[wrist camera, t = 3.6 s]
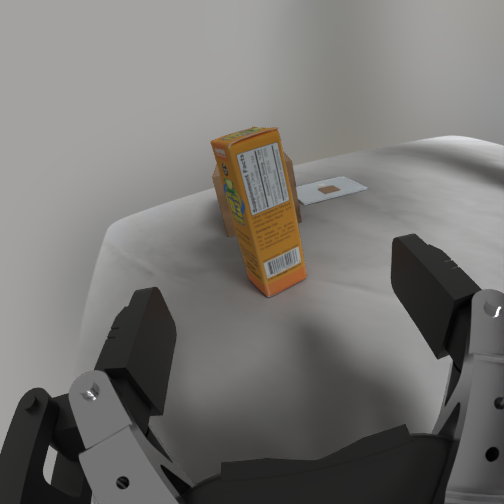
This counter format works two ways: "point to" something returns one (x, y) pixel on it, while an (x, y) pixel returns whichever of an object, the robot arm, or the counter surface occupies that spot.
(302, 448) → the counter surface
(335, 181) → the page
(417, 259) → the robot arm
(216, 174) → the base brick
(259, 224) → the supplement box
